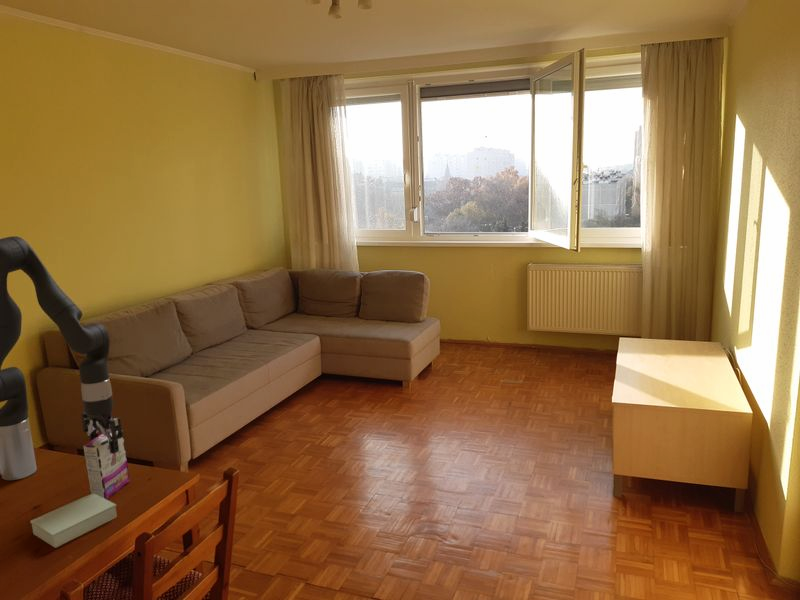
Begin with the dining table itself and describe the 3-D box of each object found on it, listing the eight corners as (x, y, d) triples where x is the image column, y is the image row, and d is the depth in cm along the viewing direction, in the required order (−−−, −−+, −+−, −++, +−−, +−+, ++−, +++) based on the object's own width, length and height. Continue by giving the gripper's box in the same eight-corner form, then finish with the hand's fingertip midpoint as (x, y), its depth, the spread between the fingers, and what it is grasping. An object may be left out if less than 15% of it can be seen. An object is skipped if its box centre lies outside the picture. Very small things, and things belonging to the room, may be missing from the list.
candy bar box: (115, 480, 183) (108, 428, 180) (130, 481, 182) (123, 429, 178) (89, 499, 172) (81, 445, 169) (105, 501, 171) (98, 446, 168)
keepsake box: (55, 550, 150) (52, 534, 149) (32, 535, 156) (30, 521, 155) (118, 518, 163) (116, 504, 162) (94, 506, 169) (92, 492, 169)
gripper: (68, 396, 171) (77, 450, 174) (101, 403, 164) (109, 460, 168) (93, 387, 178) (101, 440, 181) (125, 394, 171) (133, 449, 174)
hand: (105, 449), depth 174 cm, fingers open, 8 cm apart
